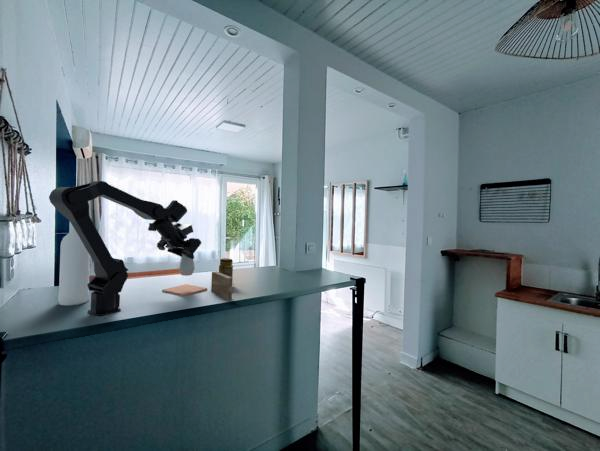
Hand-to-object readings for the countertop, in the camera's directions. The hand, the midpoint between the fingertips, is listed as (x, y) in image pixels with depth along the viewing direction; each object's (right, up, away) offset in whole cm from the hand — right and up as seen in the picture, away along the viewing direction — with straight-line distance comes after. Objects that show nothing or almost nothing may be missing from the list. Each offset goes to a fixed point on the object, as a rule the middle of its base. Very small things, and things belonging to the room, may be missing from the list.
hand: (189, 258), depth 115 cm
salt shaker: (-1, -7, -1) cm, 7 cm away
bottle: (-30, -12, -21) cm, 39 cm away
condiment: (+11, -14, +10) cm, 21 cm away
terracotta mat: (-2, -13, -1) cm, 13 cm away
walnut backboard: (+14, -14, -4) cm, 20 cm away
